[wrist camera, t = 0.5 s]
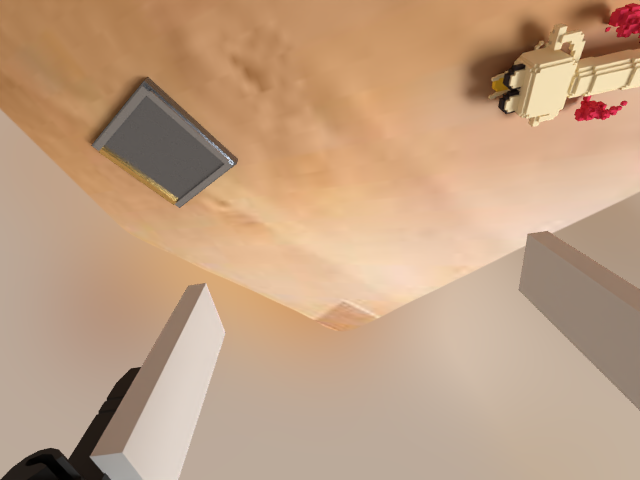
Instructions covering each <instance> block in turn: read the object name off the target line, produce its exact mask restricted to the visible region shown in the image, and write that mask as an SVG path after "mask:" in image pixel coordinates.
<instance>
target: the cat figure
mask: <svg viewBox="0 0 640 480" xmlns="http://www.w3.org/2000/svg"><path fill="white" fill-rule="evenodd" d="M639 9H640V5H638V4H634V3H632V4H628V5H625V7H622V8H618V9H616V11H615V12H612V14H611V17H610V22H609V25H612V26H614V27H616V26H620V27H618V28H617V30H616V32H618V34H617V37H625V38H626V37H629V36H630V35H631V33H634V34H636V33H640V10H639ZM610 28H611V27H608V28H606V31H605V32H607V31H609V30H610ZM566 29H567V26H566V25H564V24H558V25H554V29H553V32H550V36H549V42H548V43H545V45H544V48H542V49H539V47H540V46H541V45H543V44H544V41H543V40H542V41H539V44H538V45H535V47H534V50H533V51H529V52H525V53H522V55H520V57H518V59H517V60H516V61H514V65H513V66H512V69H510V70H508V71H505V73H502V74H498V75H497V76H495V77H492V79H491V81H492V82H493V83H492V88H493V89H494V90H495V91H496V92H495V93H494V94H492V95H489V97H488V98H489V99H493V98H496V96H500V95H503V94H504V93H507V94H505V95H503V98H500V100H499V106H498V107H499V108H500V109H501V110H502V111H503V112H504V113H505V114H508V113H512V112H516V113H517V114H518V115H519V116H520V117H521V118H524V117H525V118H526V119H527V118H530V119H529V122H528V123H529V124H530V125H531V126H532V127H534V126H538V125H539V122H542V121H547V120H552V119H554V116H558V113H559V110H563V107H564V104H565V101H566V98H567V97H568V98H573V97H577V96H584V97H583V100H584V101H581V108H580V109H576V112H575V114H574V115H575V116H576V117H575V119H576V120H577V121H582V120H586V121H587V120H591V119H593V118H596V119H602V120H604V119H606V118H609V117H610V114H611V115H616V113H617V111H618V110H621V109H622V106H624V105H626V104H627V101H622V102H621V104H620V105H622V106H616V107H615V106H612V107H611V108H610V109H609V110H608V109H606V110H605V108H606V106H607V105H606V104H604V103H603V102H601V101H600V102H596V101H589V100H590V98H591V95H594V94H599V93H604V92H608V91H613V90H617V89H620V90H625V89H630V88H634V87H639V86H640V48H639V49H635V50H631V49H629V50H624V51H620V52H616V53H611V54H607V55H603V56H598V57H588V58H583V59H580V56H581V53H582V50H583V48H584V45H585V42H586V41H585V40H583V37H584V34H583V33H582V31H581V30H573V31H569V32H566ZM638 38H640V35H639V37H638ZM565 42H567V43H569V44H570V46H569V50H571V53H570V55H569V54H567V53H565V52H563V51H561V50H559V49H561V47H562V43H565ZM639 43H640V42H639Z"/></svg>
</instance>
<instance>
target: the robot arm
mask: <svg viewBox="0 0 640 480" xmlns="http://www.w3.org/2000/svg"><path fill="white" fill-rule="evenodd" d="M519 291H520V292H521V293H522V294H523V295H524V296H525V297H526V298H527V299H529V301H530V302H531V303H532V304H533V305H534V306H535V307H536V308H537V309H538V310H539V311H540V312H542V314H543V315H544V316H545V317H546V318H547V319H548V320H549V321H550V322H551V323H552V324H553V325H554V326H555V327H556V328H557V329H558V330H560V332H562V334H564V336H565V337H567V338H568V339H569V340H570V342H571V343H573V345H574V346H576V348H578V349H579V350H580V351H581V352H582V353H583V354H584V355H585V356H586V357H587V358H588V359H589V360H590V361H591V362H592V363H593V364H594V365H595V366H596V367H597V368H598V369H599V370H600V371H601V372H602V373H603V374H604V375H605V376H606V377H607V378H608V379H609V380H610V381H611V382H612V383H613V384H614V385H615V386H616V387H617V388H618V389H619V390H620V391H621V392H622V393H623V394H624V395H625V396H626V397H627V398H628V399H629V400H630V401H631V402H632V403H633V404H634V405H635V406H636V407H637V408H638V409H639V410H640V289H638V288H637V287H635V286H634V285H632V284H630V283H629V282H627V281H626V280H624V279H623V278H621V277H619V276H618V275H616V274H615V273H613V272H611V271H610V270H608V269H607V268H605V267H604V266H602V265H600V264H598V263H597V262H596V261H594V260H592V259H591V258H589V257H588V256H586V255H584V254H583V253H581V252H580V251H578V250H576V249H575V248H573V247H572V246H570V245H569V244H567V243H565V242H563V241H562V240H561V239H559V238H558V237H556V236H554V235H553V234H551V233H550V232H548V231H544V232H538V233H531V234H528V236H527V242H526V248H525V254H524V260H523V266H522V272H521V278H520V284H519ZM224 336H225V330H224V328H223V325H222V323H221V320H220V318H219V315H218V312H217V310H216V307H215V305H214V302H213V299H212V297H211V294H210V292H209V289H208V287H207V284H206V283H203V284H197V285H190V286H188V287H187V289H186V290H185V292H184V294H183V296H182V298H181V299H180V301H179V303H178V304H177V306H176V308H175V309H174V311H173V313H172V315H171V317H170V318H169V320H168V322H167V324H166V325H165V327H164V329H163V330H162V332H161V334H160V336H159V337H158V339H157V341H156V342H155V344H154V346H153V348H152V349H151V351H150V353H149V355H148V356H147V358H146V360H145V362H144V363H143V365H142V367H138V368H131V369H130V370H129V371H128V372H127V373H126V374H125V375H124V376H123V377H122V378H121V379H120V380H119V381H118V382H117V383H116V384H115V386H114V388H113V389H112V391H111V392H110V394H109V396H108V397H107V401H105V402H104V404H103V405H102V407H101V409H100V410H99V414H98V415H96V417H95V418H94V420H93V421H92V423H91V424H90V426H89V428H88V429H87V431H86V432H85V434H84V435H83V437H82V439H81V440H80V442H79V443H78V445H77V447H76V448H75V450H74V452H73V453H72V455H71V456H70V458H69V459H67V458H66V457H65V456H64V455H63V454H62V453H61V452H60V450H58V449H54V448H48V449H44V450H40V451H37V452H36V453H34V454H32V455H30V456H28V457H26V458H25V459H23V460H22V461H21V462H19V463H18V464H17V465H15V466H14V467H13V468H11V469H10V470H9V472H7V474H6V475H5V476H4V477H3V478H2V479H1V480H178V479H179V476H180V473H181V470H182V466H183V463H184V460H185V457H186V454H187V451H188V448H189V444H190V441H191V438H192V435H193V432H194V429H195V426H196V423H197V420H198V416H199V413H200V410H201V407H202V404H203V401H204V398H205V395H206V392H207V389H208V385H209V382H210V379H211V376H212V373H213V370H214V367H215V364H216V361H217V357H218V354H219V351H220V348H221V345H222V342H223V339H224Z"/></svg>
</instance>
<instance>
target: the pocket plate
mask: <svg viewBox="0 0 640 480" xmlns="http://www.w3.org/2000/svg"><path fill="white" fill-rule="evenodd" d="M91 146H93V147H94V148H95V149H97V150H98V151H99V153H101V154H102V155H104V156H105V157H106V158H108V159H109V160H111V161H112V162H113V163H115V164H116V165H118V166H119V167H121V168H122V169H123V170H125V171H126V172H128V173H129V174H131V175H132V176H133V177H135V178H136V179H138V180H139V181H140V182H142V183H143V184H145V185H146V186H148V187H149V188H150V189H152V190H153V191H155V192H156V193H158V194H159V195H160V196H162V197H163V198H165V199H166V200H167V201H169V202H170V203H172V204H173V205H174V204H175V205H176V206H178V207H179V208H180V207H181V206H183V205H184V204H185V203H186V202H188V201H189V200H190V199H192V198H193V197H194V196H196V195H197V194H198V193H199V192H201V191H202V190H203V189H205V188H206V187H207V186H208V185H210V184H211V183H212V182H214V181H215V180H216V179H217V178H219V177H220V176H221V175H223V174H224V173H225V172H226V171H228V170H229V169H230V168H232V167H233V166H234V165H236V164H237V161H238V159H237V158H236V157H235V156H234V155H233V154H232V153H231V152H229V151H228V150H227V149H226V148H225V147H224V146H223V145H222V144H221V143H220V142H218V141H217V140H216V139H215V138H214V137H213V136H212V135H211V134H210V133H209V132H208V131H206V130H205V129H204V128H203V127H202V126H201V125H200V124H199V123H198V122H197V121H195V120H194V119H193V118H192V117H191V116H190V115H189V114H188V113H187V112H186V111H185V110H183V109H182V108H181V107H180V106H179V105H178V104H177V103H176V102H175V101H174V100H173V99H171V98H170V97H169V96H168V95H167V94H166V93H165V92H164V91H163V90H162V89H160V88H159V87H158V86H157V85H156V84H155V83H154V82H153V81H152V80H151V79H150V78H146V79H145V80H144V81H143V83H142V84H141V85H140V86H139V88H138V89H137V90H136V91H135V92H134V94H133V95H132V96H131V97H130V99H129V100H128V101H127V102H126V104H125V105H124V106H123V107H122V108H121V110H120V111H119V112H118V113H117V115H116V116H115V117H114V118H113V120H112V121H111V122H110V123H109V124H108V126H107V127H106V128H105V129H104V131H103V132H102V133H101V134H100V136H99V137H98V138H97V139H96V140H95V142H94V143H93V144H92V145H91Z"/></svg>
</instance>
